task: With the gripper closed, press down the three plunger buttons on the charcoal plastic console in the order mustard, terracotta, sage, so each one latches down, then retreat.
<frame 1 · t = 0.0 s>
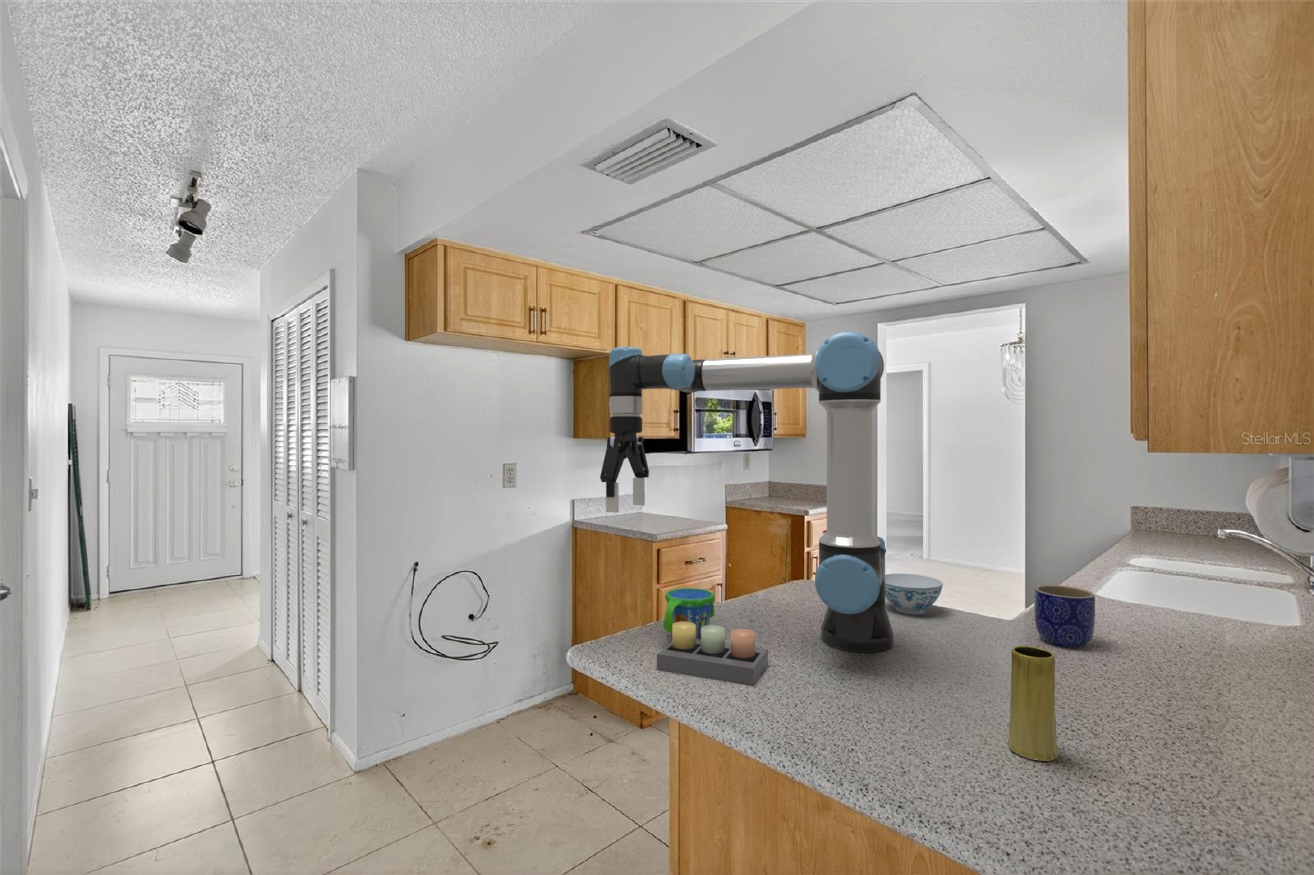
hand: (626, 508, 143), 28 cm above the countertop, fingers open, 13 cm apart
snack cup: (690, 640, 137), on the countertop
button terracotta: (742, 643, 119), point 5 cm above the countertop, slide at 0.0 cm
planter: (1063, 643, 134), on the countertop
button sage: (712, 639, 121), point 5 cm above the countertop, slide at 0.0 cm
console: (712, 666, 121), on the countertop
vase: (1032, 752, 89), on the countertop
button mustard: (684, 635, 124), point 5 cm above the countertop, slide at 0.0 cm
chinaware: (910, 611, 159), on the countertop
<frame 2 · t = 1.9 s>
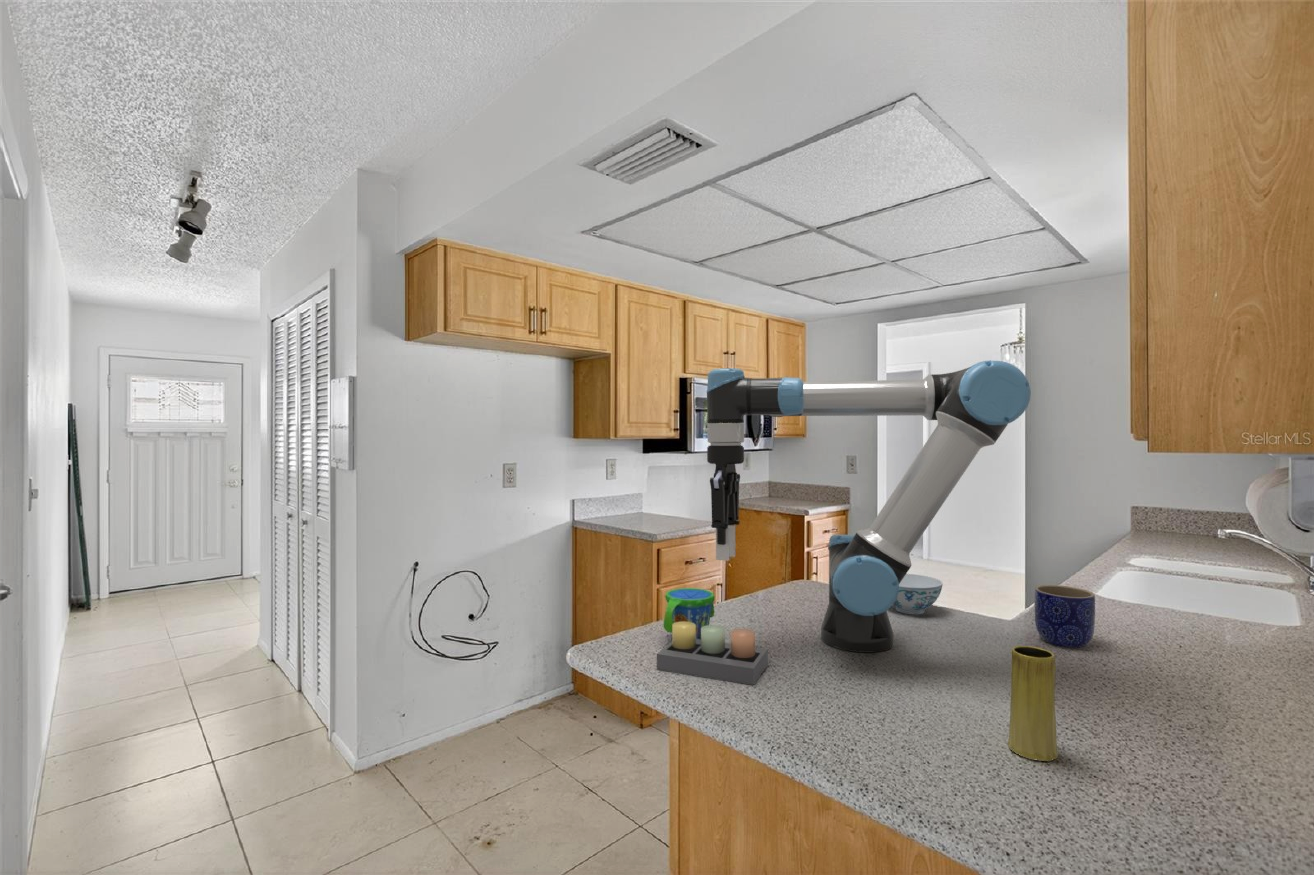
hand: (725, 557, 129), 20 cm above the countertop, fingers open, 3 cm apart
nothing on the countertop moved.
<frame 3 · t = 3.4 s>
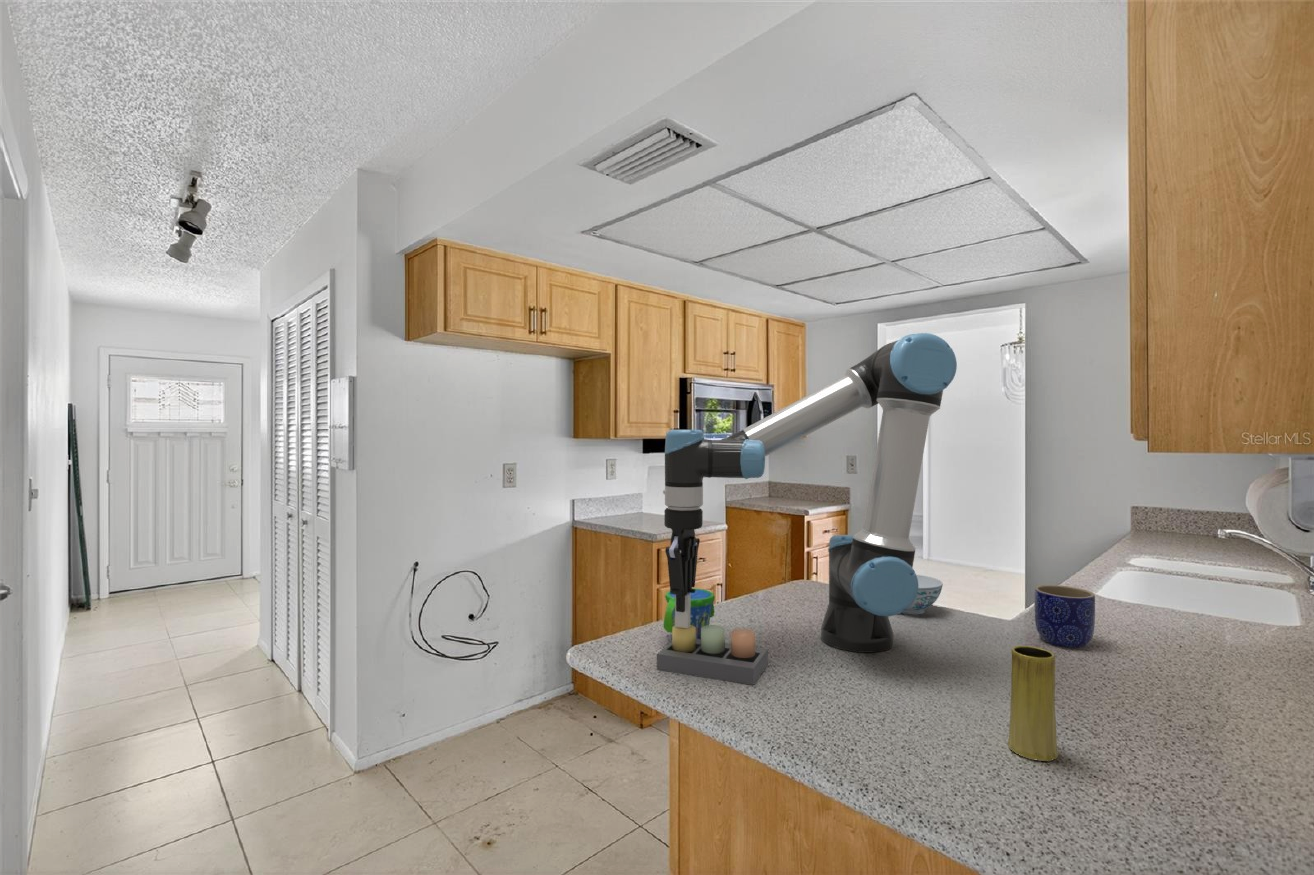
hand: (682, 626, 124), 7 cm above the countertop, fingers closed
button mustard: (684, 638, 124), point 5 cm above the countertop, slide at 0.6 cm, touching gripper
everything else where it was.
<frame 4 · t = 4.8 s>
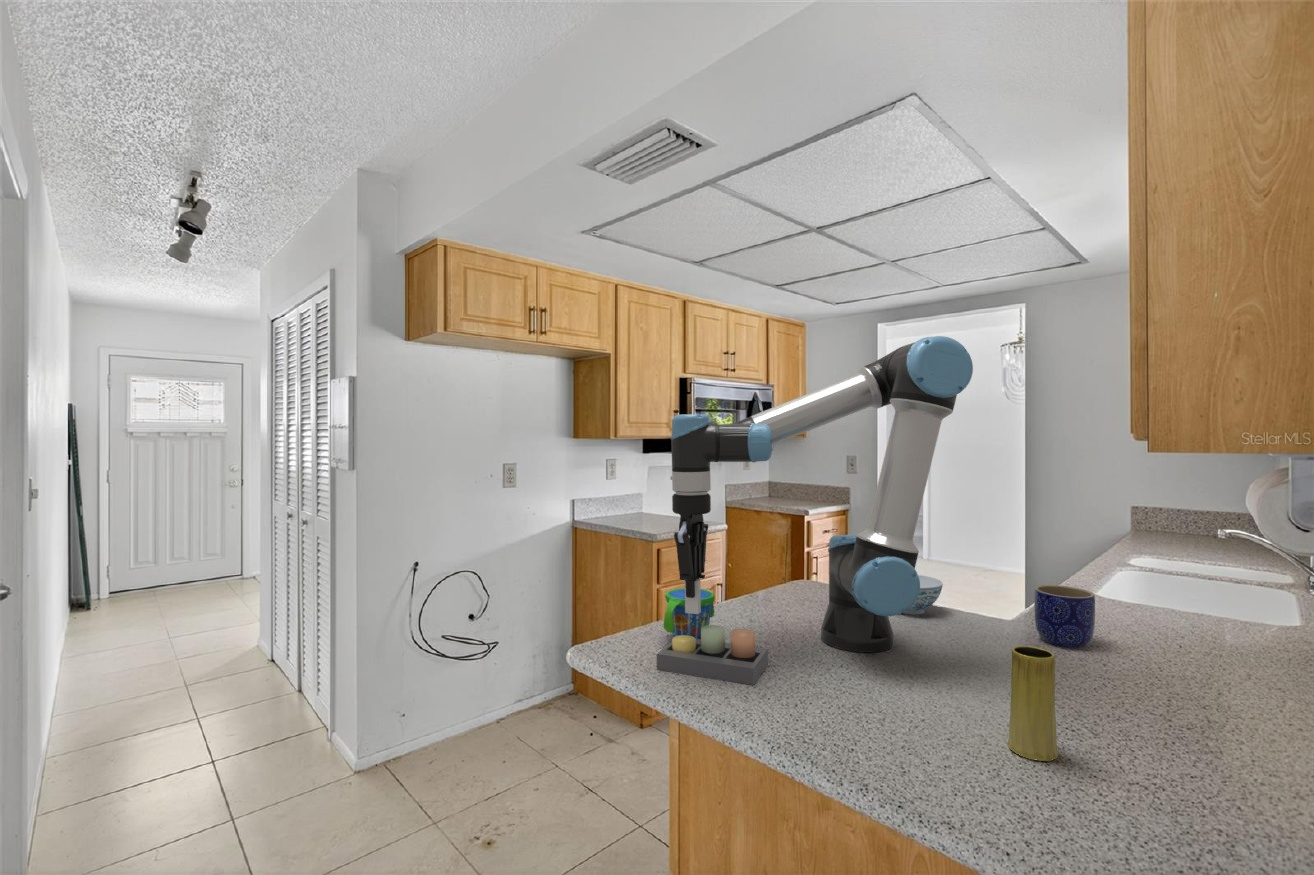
hand: (693, 612, 123), 10 cm above the countertop, fingers closed
button mustard: (684, 649, 124), point 3 cm above the countertop, slide at 2.8 cm
everything else where it was.
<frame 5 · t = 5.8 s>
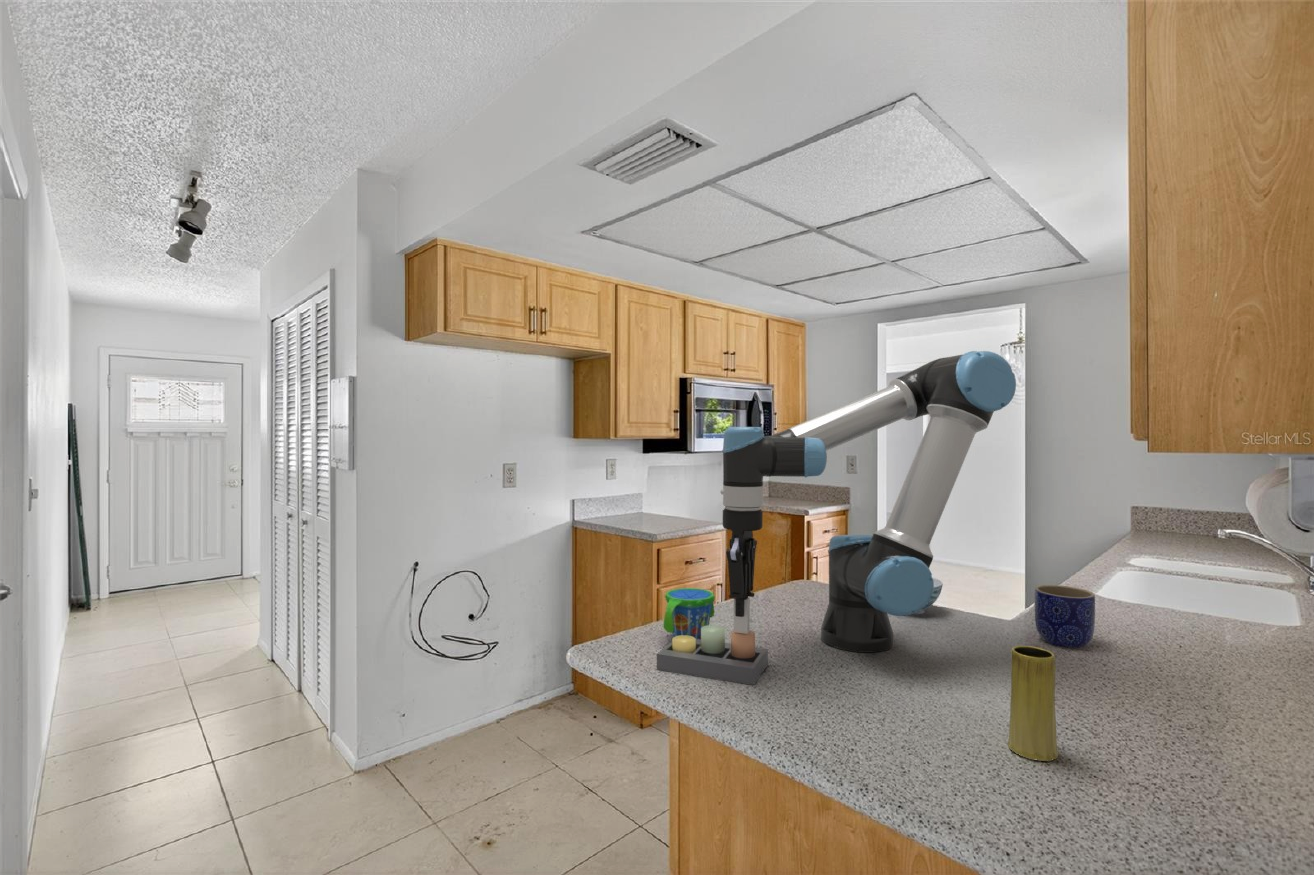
hand: (741, 631, 119), 8 cm above the countertop, fingers closed
button terracotta: (742, 643, 119), point 5 cm above the countertop, slide at 0.1 cm, touching gripper
everything else where it was.
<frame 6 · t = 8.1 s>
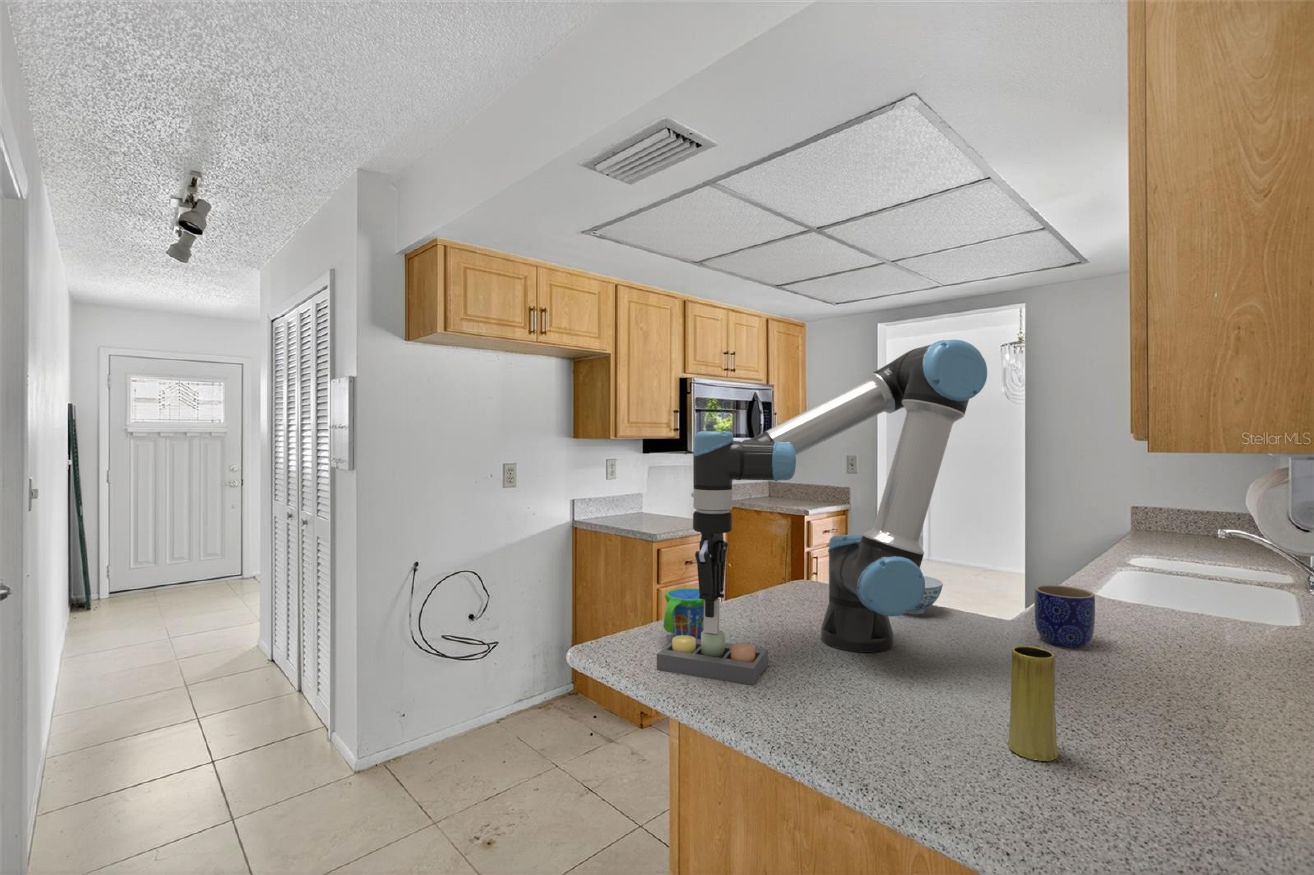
hand: (711, 632, 121), 7 cm above the countertop, fingers closed
button terracotta: (742, 657, 119), point 3 cm above the countertop, slide at 2.8 cm
button sage: (712, 643, 121), point 4 cm above the countertop, slide at 0.9 cm, touching gripper
everything else where it was.
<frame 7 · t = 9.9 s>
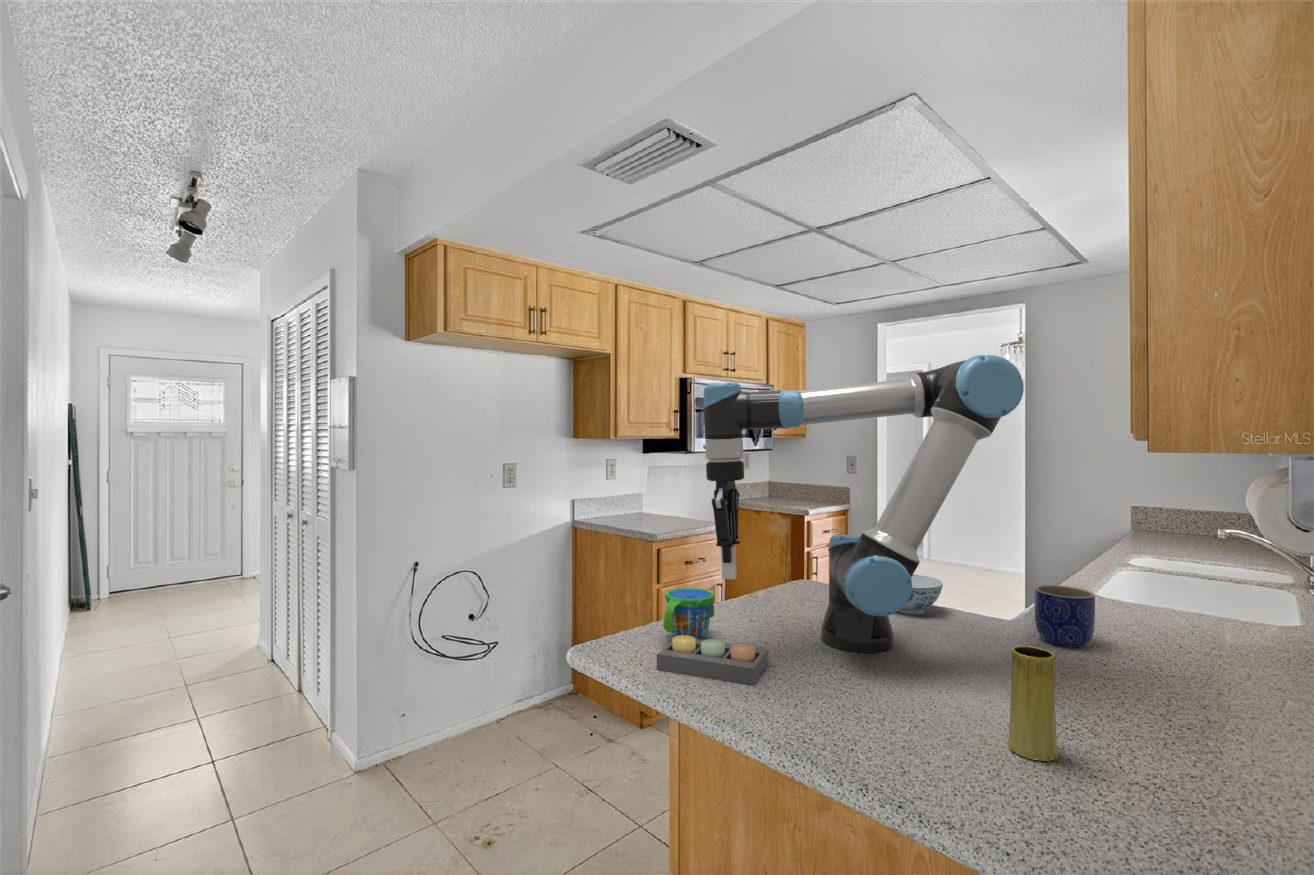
hand: (729, 578, 125), 16 cm above the countertop, fingers closed
button sage: (712, 653, 121), point 3 cm above the countertop, slide at 2.8 cm
everything else where it was.
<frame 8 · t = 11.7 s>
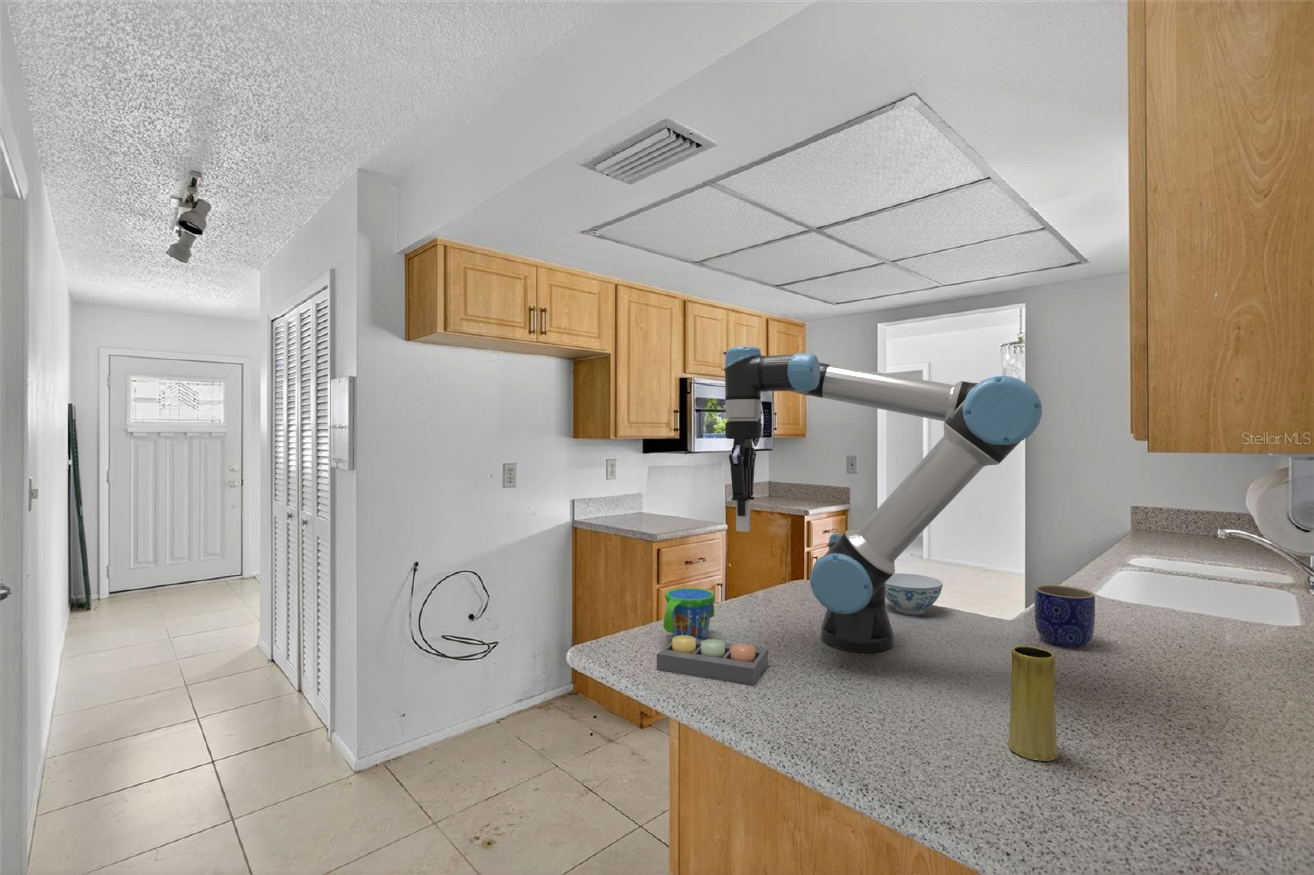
hand: (743, 530, 134), 24 cm above the countertop, fingers closed
nothing on the countertop moved.
at the end: button mustard slide at 2.8 cm; button terracotta slide at 2.8 cm; button sage slide at 2.8 cm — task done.
